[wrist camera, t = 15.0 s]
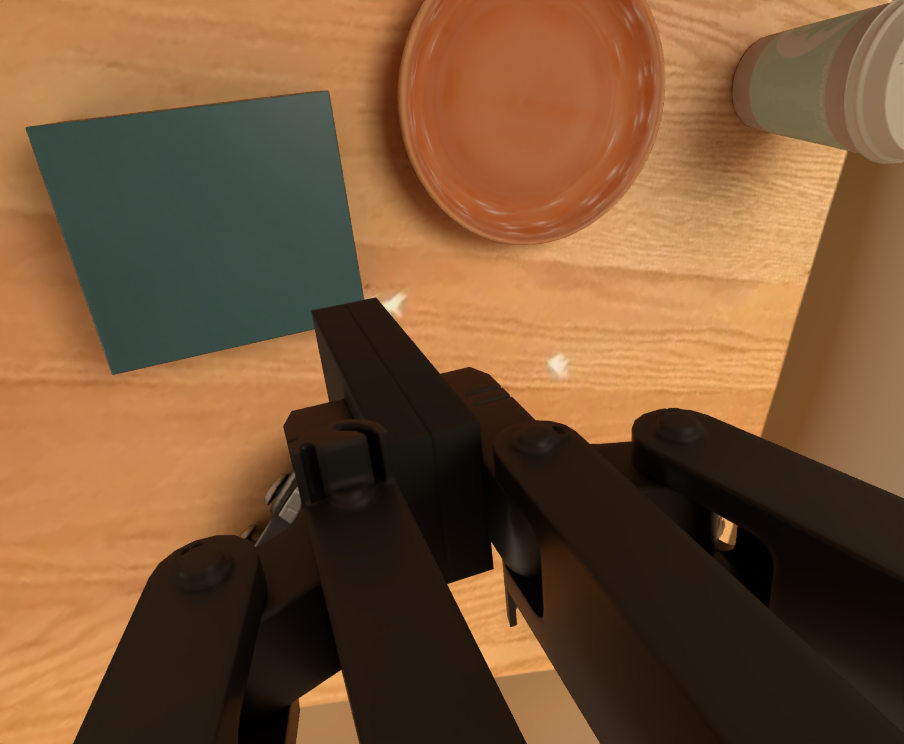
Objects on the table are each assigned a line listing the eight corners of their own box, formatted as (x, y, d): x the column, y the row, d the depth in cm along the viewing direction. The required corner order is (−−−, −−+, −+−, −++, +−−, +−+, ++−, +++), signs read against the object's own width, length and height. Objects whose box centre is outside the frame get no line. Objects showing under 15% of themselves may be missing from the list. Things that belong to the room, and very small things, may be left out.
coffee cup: (836, 26, 44) (1032, 4, 34) (794, 159, 47) (964, 177, 37) (736, -4, 41) (918, -38, 31) (698, 140, 44) (853, 154, 34)
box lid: (113, 371, 33) (111, 375, 33) (27, 126, 29) (25, 127, 28) (364, 314, 37) (367, 317, 37) (326, 90, 32) (329, 90, 32)
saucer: (396, 249, 40) (410, 259, 37) (375, -64, 34) (390, -78, 31) (627, 224, 45) (654, 232, 42) (647, -55, 38) (679, -66, 36)
